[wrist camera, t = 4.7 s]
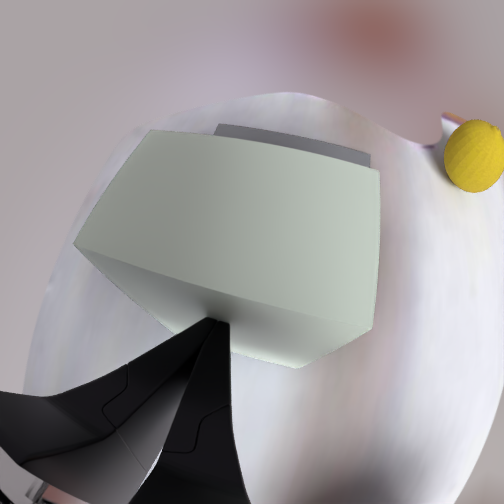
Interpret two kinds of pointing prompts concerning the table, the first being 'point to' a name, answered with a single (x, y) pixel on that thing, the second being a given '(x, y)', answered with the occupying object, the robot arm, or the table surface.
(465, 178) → the lemon
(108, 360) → the table surface
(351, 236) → the sage block
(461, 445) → the table surface
